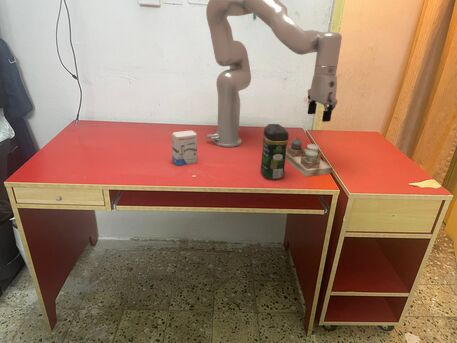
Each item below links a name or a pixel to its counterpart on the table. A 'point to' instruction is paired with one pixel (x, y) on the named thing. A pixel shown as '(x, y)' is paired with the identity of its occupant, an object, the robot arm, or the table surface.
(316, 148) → the white button
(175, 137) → the ink box
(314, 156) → the sage button
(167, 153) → the table surface
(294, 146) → the charcoal button
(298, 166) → the switch board
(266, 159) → the coffee jar
